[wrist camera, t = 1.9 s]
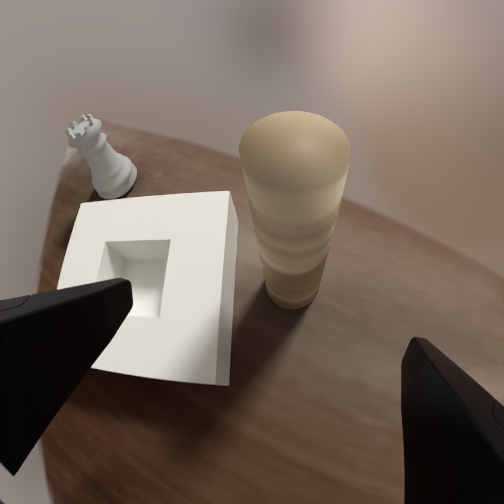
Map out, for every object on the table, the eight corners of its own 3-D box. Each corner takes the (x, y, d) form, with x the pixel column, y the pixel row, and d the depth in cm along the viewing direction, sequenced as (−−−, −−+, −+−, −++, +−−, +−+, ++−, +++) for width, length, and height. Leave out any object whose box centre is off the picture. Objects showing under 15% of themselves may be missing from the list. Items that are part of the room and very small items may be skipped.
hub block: (229, 385, 18) (215, 384, 15) (78, 365, 20) (45, 356, 16) (238, 222, 24) (229, 190, 20) (104, 227, 25) (81, 203, 21)
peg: (319, 309, 20) (359, 189, 8) (265, 309, 20) (235, 190, 9) (317, 259, 22) (341, 111, 10) (266, 260, 22) (242, 113, 10)
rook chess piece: (94, 205, 26) (49, 151, 19) (104, 170, 28) (67, 115, 21) (135, 198, 26) (94, 136, 19) (142, 161, 28) (109, 100, 21)
